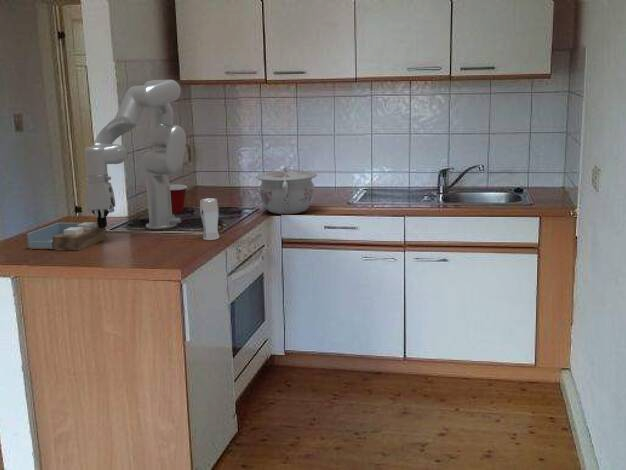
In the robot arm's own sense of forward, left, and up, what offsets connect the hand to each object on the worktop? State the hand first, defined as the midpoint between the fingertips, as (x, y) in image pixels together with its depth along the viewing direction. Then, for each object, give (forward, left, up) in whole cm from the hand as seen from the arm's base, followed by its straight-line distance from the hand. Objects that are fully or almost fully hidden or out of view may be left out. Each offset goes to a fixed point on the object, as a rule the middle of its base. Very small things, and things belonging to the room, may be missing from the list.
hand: (102, 227), depth 264 cm
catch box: (+18, +4, -6) cm, 19 cm away
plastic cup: (-2, -62, -6) cm, 62 cm away
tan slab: (+7, +4, -6) cm, 10 cm away
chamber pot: (-55, -64, -6) cm, 85 cm away
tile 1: (+7, 0, -1) cm, 7 cm away
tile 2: (+7, +9, -1) cm, 11 cm away
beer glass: (-40, -10, -6) cm, 42 cm away
